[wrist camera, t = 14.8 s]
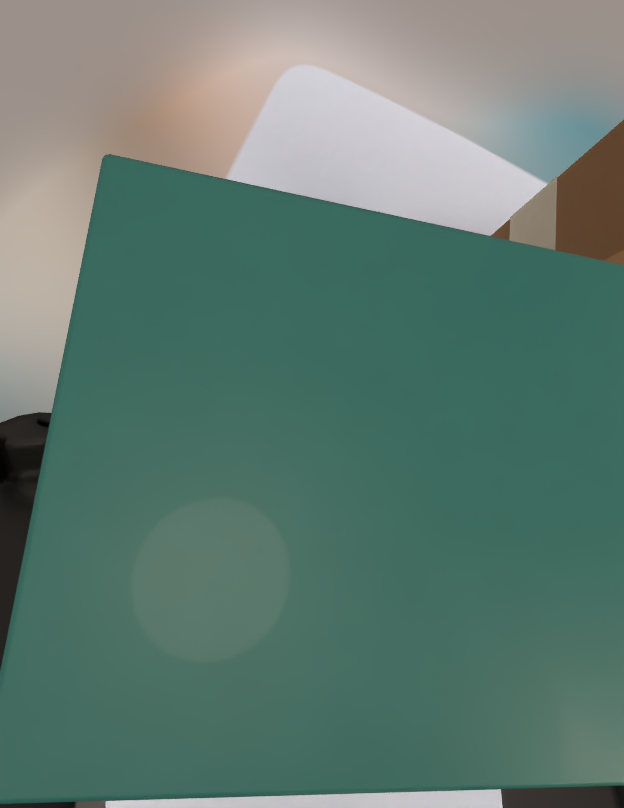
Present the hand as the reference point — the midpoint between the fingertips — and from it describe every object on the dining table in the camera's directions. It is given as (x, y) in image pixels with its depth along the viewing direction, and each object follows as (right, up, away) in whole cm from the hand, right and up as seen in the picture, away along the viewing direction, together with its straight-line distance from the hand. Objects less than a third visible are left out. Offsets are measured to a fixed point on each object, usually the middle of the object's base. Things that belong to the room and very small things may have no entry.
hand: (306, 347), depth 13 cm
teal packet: (-2, -4, +6) cm, 8 cm away
